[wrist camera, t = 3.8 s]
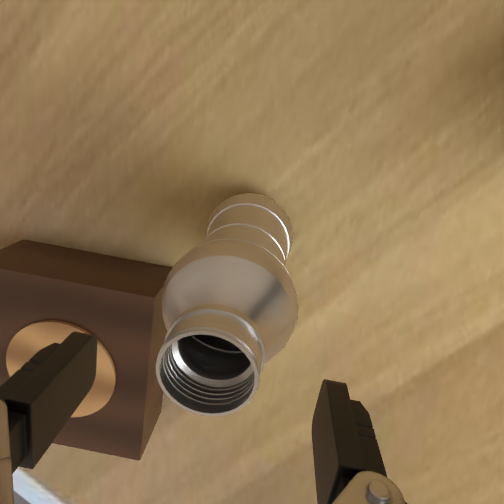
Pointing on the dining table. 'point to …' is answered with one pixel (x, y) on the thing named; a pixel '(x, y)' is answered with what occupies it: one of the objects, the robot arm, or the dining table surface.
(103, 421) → the walnut box
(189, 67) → the dining table surface
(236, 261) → the metal bottle
